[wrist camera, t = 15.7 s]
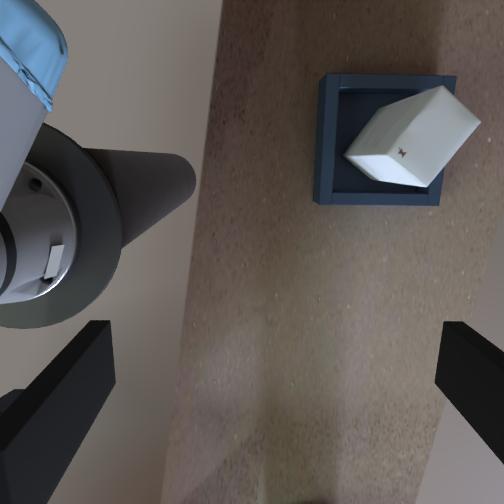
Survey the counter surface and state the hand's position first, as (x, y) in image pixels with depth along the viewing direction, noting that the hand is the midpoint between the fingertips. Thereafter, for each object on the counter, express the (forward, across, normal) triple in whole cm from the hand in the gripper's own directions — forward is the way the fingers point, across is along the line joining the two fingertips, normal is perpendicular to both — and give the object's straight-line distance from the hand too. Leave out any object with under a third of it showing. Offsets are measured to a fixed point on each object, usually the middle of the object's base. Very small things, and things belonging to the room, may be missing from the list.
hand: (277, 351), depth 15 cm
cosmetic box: (+26, +12, +9) cm, 30 cm away
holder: (+27, +12, +9) cm, 31 cm away
